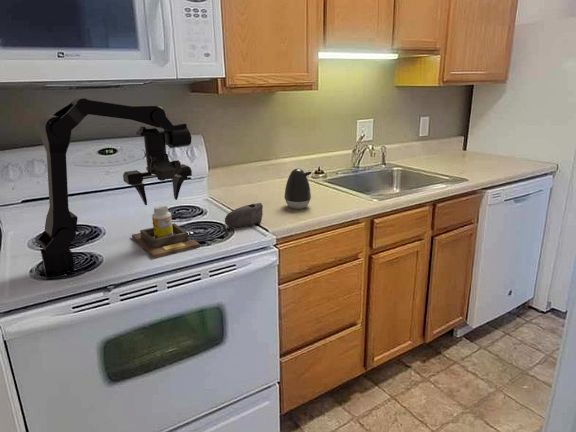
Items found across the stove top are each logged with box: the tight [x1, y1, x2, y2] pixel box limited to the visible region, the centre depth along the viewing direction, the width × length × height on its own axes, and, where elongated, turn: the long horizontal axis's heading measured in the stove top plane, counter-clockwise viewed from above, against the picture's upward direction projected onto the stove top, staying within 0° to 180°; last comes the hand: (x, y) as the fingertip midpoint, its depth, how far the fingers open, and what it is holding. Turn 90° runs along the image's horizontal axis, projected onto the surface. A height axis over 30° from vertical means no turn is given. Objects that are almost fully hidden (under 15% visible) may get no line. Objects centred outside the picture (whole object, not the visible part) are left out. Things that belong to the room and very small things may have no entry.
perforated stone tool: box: [224, 202, 264, 229], centre depth 146 cm, size 15×5×7 cm, turn 122°
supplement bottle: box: [151, 205, 173, 239], centre depth 130 cm, size 6×6×10 cm
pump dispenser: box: [283, 168, 312, 210], centre depth 164 cm, size 10×10×15 cm
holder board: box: [131, 222, 201, 259], centre depth 132 cm, size 14×20×4 cm
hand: (161, 202), depth 128 cm, fingers open, 9 cm apart
